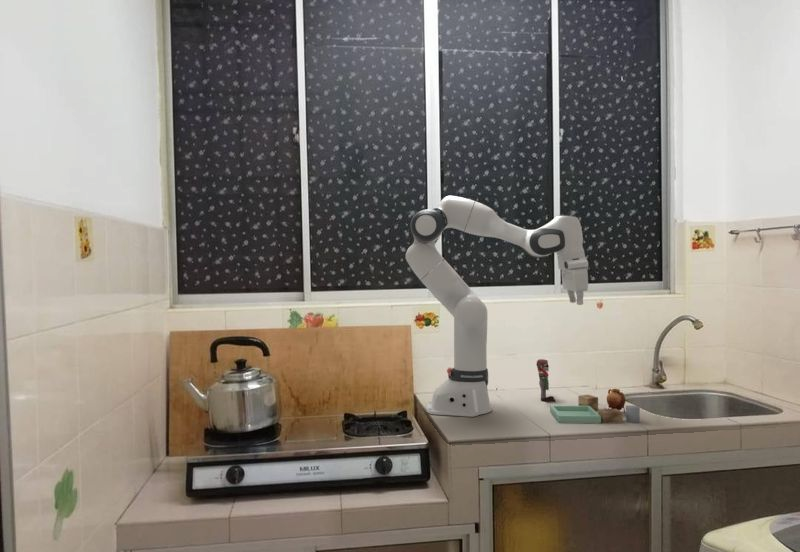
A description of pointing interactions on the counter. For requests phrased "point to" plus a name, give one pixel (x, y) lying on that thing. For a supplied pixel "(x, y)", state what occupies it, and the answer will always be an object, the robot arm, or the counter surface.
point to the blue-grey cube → (633, 414)
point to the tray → (575, 414)
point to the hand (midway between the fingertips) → (576, 303)
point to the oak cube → (588, 401)
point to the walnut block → (610, 415)
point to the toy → (544, 380)
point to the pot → (616, 399)
